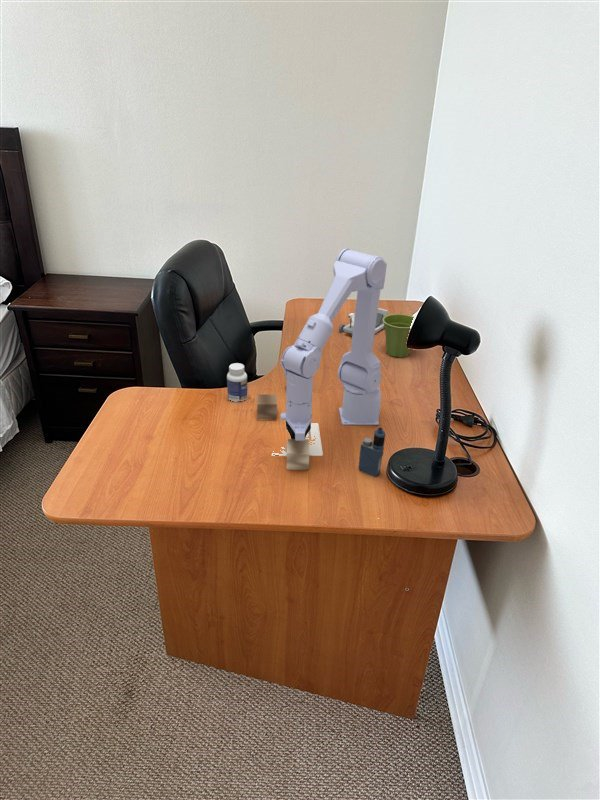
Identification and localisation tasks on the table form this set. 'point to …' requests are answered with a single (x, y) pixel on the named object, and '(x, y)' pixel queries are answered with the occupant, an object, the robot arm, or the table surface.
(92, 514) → the table surface
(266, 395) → the walnut block
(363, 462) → the vaping device
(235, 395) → the pill bottle
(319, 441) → the letter
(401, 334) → the plant pot
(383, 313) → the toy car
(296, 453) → the beech block
